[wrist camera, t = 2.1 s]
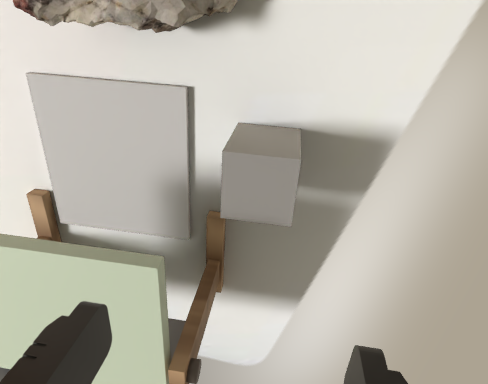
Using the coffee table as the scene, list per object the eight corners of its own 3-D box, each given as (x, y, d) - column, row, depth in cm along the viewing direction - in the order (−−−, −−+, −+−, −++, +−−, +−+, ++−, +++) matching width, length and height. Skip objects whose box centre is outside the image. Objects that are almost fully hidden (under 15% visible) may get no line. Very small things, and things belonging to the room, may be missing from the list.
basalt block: (238, 122, 25) (222, 151, 19) (300, 128, 24) (301, 159, 19) (235, 178, 27) (220, 218, 21) (292, 184, 26) (291, 226, 21)
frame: (30, 188, 30) (-107, 276, 20) (230, 213, 28) (193, 323, 18) (49, 259, 34) (-58, 364, 24) (227, 285, 32) (194, 410, 22)
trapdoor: (-19, 194, 23) (-88, 233, 19) (183, 220, 21) (157, 268, 17) (24, 320, 28) (-21, 371, 24) (187, 347, 27) (168, 406, 23)
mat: (29, 72, 25) (25, 73, 25) (187, 86, 24) (185, 87, 23) (63, 220, 31) (60, 222, 31) (190, 237, 30) (188, 240, 30)
